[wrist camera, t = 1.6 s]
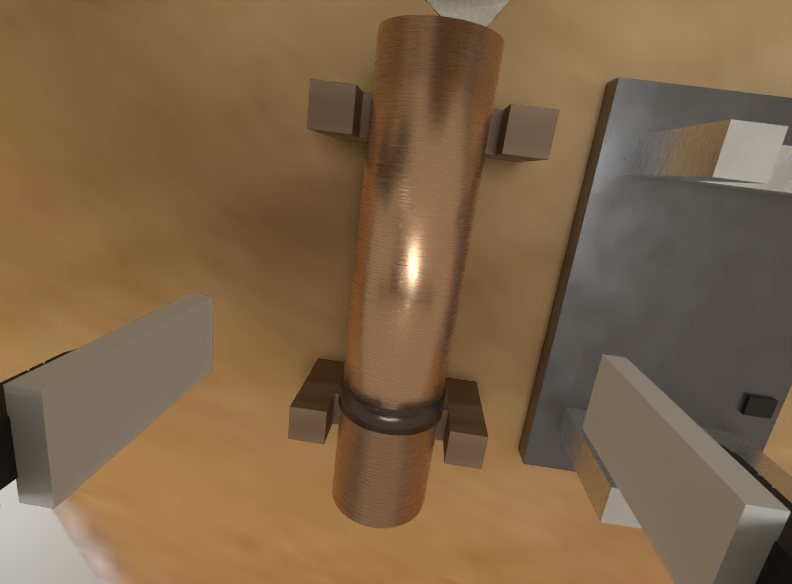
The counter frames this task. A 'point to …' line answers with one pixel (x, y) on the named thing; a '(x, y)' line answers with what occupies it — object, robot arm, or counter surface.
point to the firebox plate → (675, 276)
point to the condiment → (469, 9)
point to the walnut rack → (462, 413)
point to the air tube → (410, 256)
